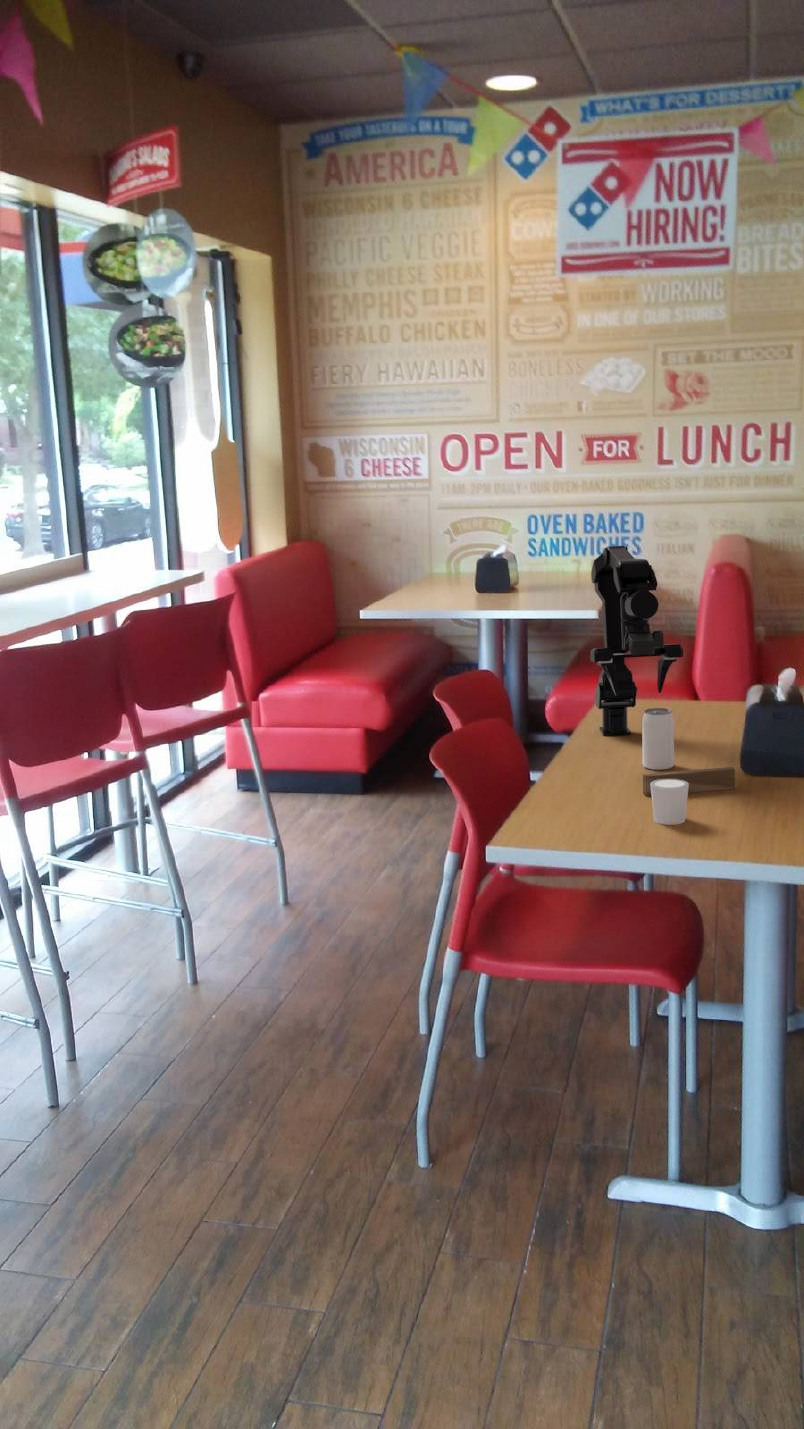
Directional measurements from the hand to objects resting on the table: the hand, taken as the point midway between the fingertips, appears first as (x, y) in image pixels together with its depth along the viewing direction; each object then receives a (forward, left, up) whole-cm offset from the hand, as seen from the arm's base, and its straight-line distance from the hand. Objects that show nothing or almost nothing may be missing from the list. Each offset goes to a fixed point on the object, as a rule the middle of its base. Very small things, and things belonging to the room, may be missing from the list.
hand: (638, 693), depth 272 cm
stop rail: (+24, +6, -15) cm, 29 cm away
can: (+5, +3, -15) cm, 16 cm away
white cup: (+41, -2, -15) cm, 44 cm away
